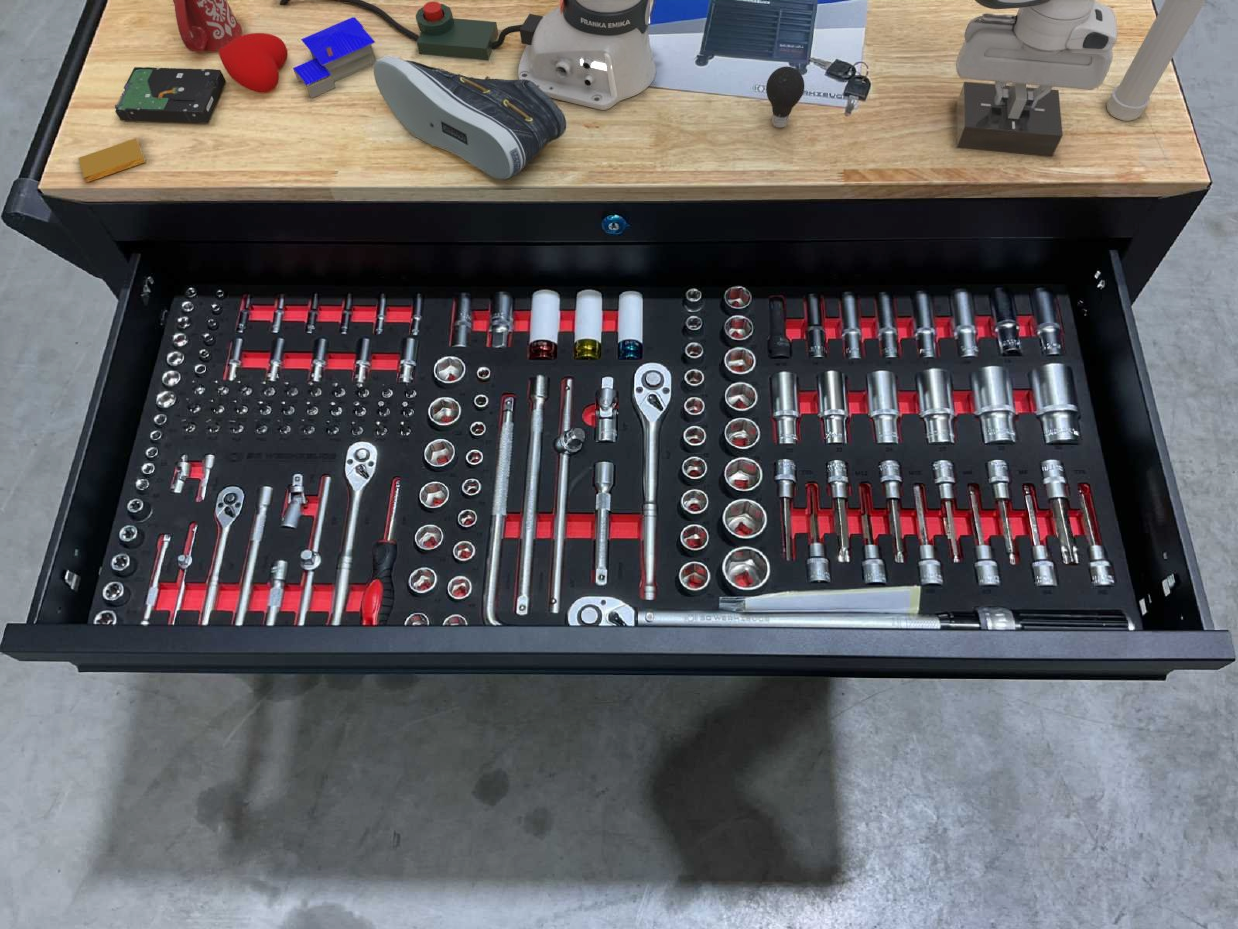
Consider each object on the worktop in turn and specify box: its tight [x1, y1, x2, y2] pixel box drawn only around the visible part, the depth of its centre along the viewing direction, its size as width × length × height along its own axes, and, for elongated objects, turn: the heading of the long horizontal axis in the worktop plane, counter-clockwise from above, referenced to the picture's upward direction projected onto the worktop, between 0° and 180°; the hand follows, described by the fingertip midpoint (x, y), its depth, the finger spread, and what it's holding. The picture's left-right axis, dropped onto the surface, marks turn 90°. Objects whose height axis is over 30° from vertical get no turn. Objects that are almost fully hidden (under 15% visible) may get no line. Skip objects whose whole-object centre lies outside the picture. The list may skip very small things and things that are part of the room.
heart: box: [218, 32, 289, 94], centre depth 146 cm, size 12×5×10 cm
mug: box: [172, 0, 243, 53], centre depth 147 cm, size 13×9×14 cm
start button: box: [422, 0, 443, 21], centre depth 148 cm, size 3×3×2 cm
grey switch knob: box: [1007, 83, 1027, 119], centre depth 132 cm, size 5×2×4 cm, turn 170°
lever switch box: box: [955, 81, 1063, 158], centre depth 136 cm, size 14×10×4 cm
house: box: [292, 16, 377, 99], centre depth 147 cm, size 11×14×6 cm
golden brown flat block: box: [77, 137, 146, 183], centre depth 139 cm, size 9×1×5 cm
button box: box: [415, 3, 499, 61], centre depth 149 cm, size 13×8×4 cm, turn 80°
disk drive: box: [114, 66, 227, 125], centre depth 145 cm, size 10×3×15 cm
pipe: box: [1106, 0, 1207, 122], centre depth 126 cm, size 6×6×30 cm
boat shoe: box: [372, 55, 567, 180], centre depth 137 cm, size 11×30×14 cm
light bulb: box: [765, 65, 805, 129], centre depth 135 cm, size 6×6×10 cm
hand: (1013, 104), depth 133 cm, fingers open, 3 cm apart
